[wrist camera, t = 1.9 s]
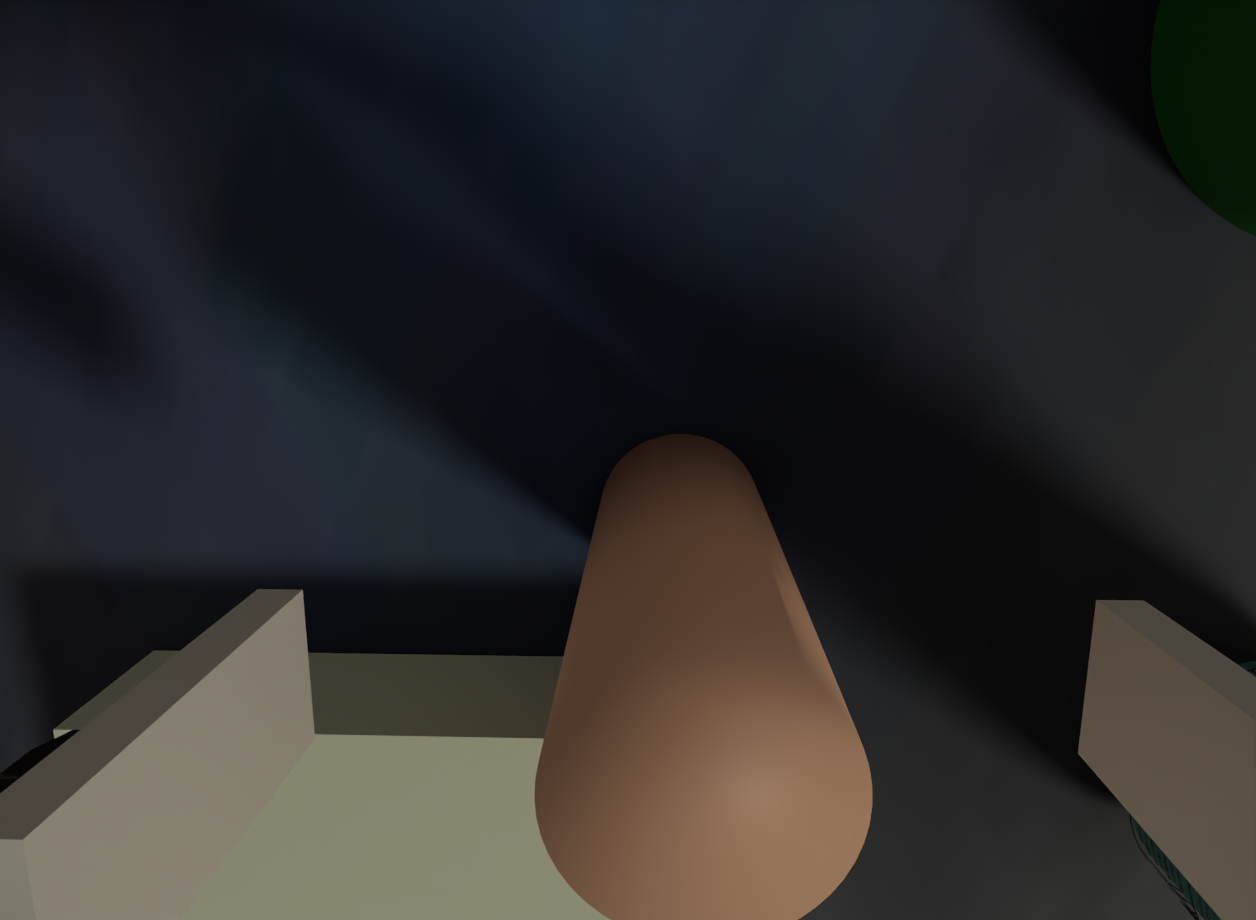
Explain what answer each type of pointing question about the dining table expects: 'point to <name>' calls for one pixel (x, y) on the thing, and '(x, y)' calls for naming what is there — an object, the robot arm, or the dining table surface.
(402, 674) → the socket board
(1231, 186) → the slotted cylinder bracket
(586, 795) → the peg
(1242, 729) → the robot arm
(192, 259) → the dining table surface
